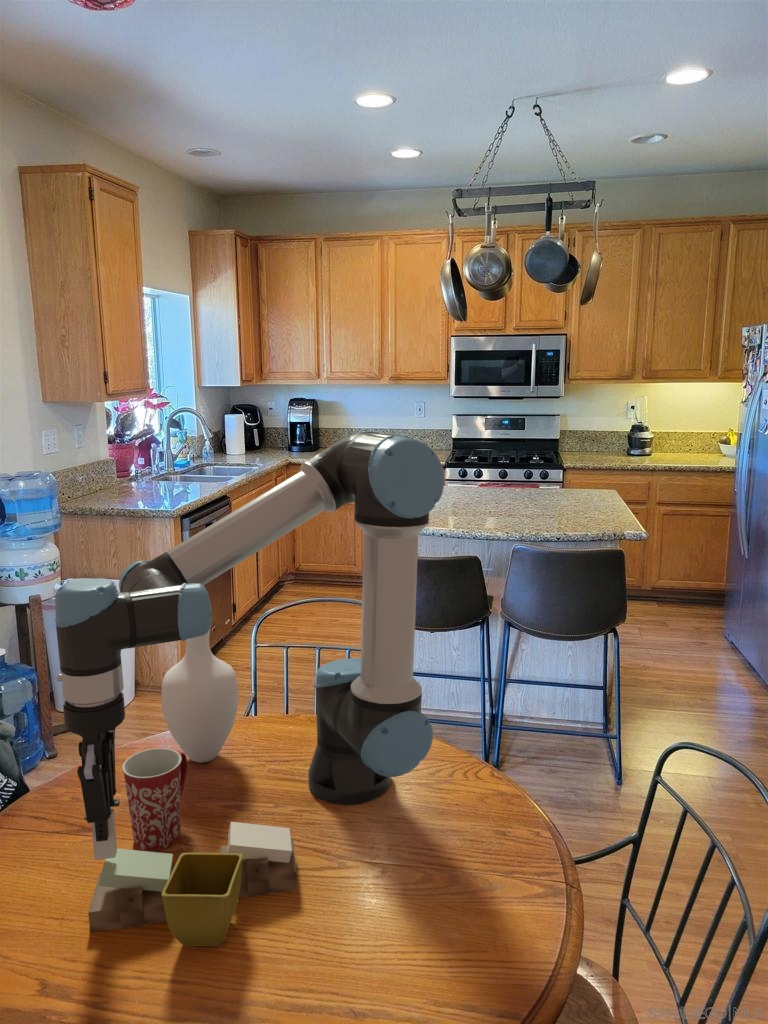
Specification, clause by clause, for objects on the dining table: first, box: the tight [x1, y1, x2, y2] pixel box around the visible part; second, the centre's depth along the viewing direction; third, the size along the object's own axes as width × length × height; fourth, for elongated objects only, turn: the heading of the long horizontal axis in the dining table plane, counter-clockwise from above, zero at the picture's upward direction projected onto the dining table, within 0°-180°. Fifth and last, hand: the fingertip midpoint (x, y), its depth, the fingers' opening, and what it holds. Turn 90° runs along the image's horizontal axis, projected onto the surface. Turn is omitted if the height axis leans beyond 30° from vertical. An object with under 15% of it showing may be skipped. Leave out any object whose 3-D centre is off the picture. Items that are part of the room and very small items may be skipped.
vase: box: [161, 628, 239, 763], centre depth 140 cm, size 14×14×28 cm
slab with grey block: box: [87, 863, 176, 933], centre depth 102 cm, size 11×8×5 cm
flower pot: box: [161, 852, 243, 947], centre depth 97 cm, size 9×9×9 cm
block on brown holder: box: [219, 837, 298, 899], centre depth 108 cm, size 11×8×5 cm
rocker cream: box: [227, 821, 292, 863], centre depth 108 cm, size 9×6×2 cm, turn 101°
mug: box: [121, 747, 188, 852], centre depth 118 cm, size 13×9×14 cm
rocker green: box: [99, 848, 174, 892], centre depth 102 cm, size 9×6×2 cm, turn 101°
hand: (105, 855), depth 101 cm, fingers closed
